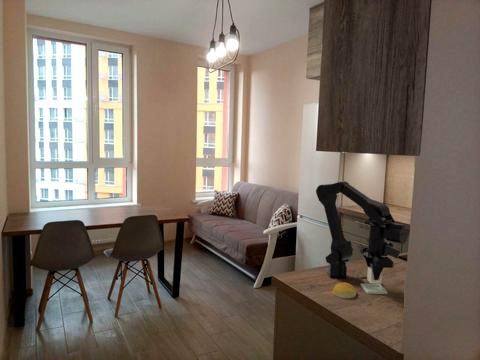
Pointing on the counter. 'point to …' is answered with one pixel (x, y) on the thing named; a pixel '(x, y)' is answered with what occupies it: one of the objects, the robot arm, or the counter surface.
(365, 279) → the walnut tray
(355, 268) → the counter surface
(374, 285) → the green tray
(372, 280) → the letter block
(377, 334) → the counter surface
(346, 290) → the bread roll
